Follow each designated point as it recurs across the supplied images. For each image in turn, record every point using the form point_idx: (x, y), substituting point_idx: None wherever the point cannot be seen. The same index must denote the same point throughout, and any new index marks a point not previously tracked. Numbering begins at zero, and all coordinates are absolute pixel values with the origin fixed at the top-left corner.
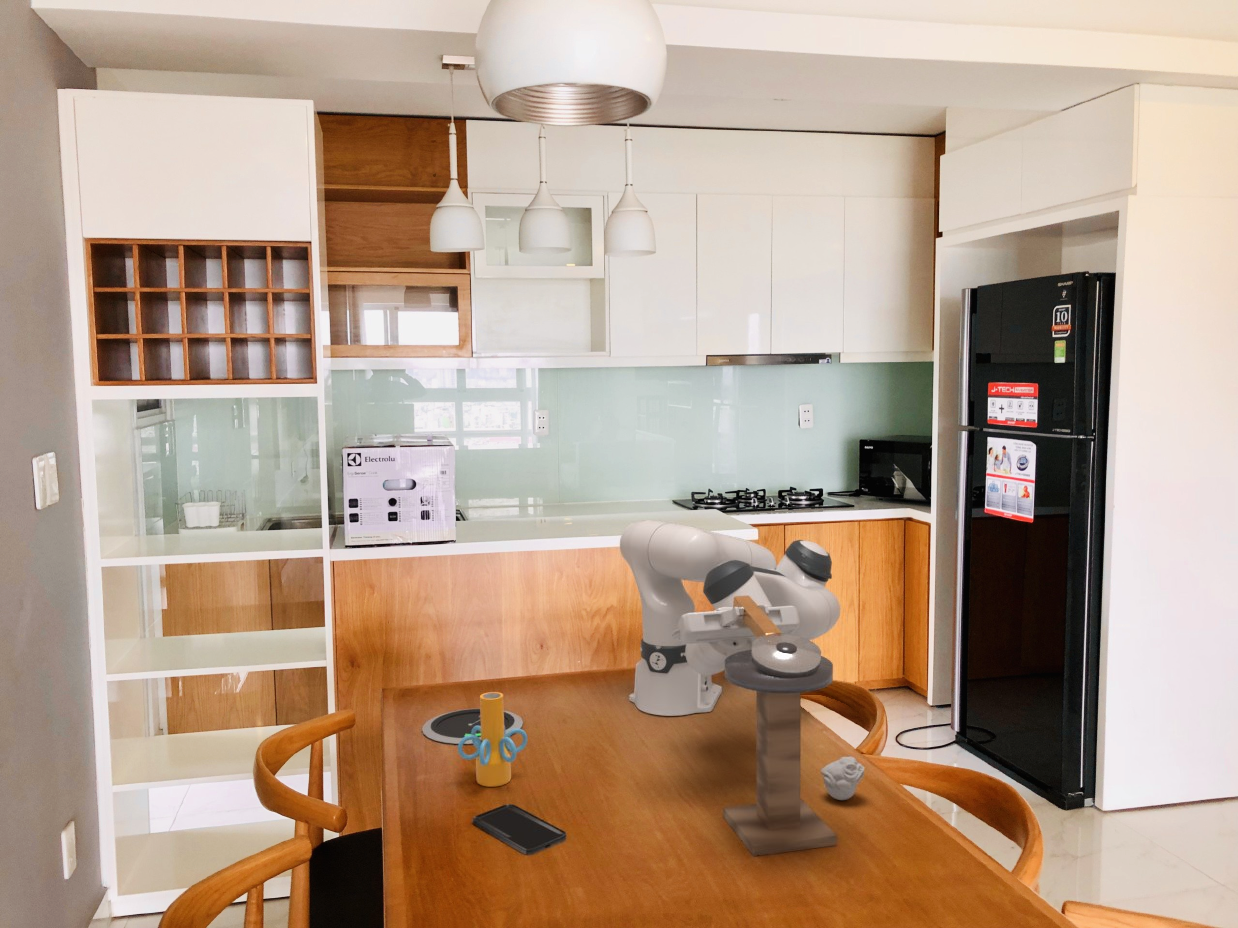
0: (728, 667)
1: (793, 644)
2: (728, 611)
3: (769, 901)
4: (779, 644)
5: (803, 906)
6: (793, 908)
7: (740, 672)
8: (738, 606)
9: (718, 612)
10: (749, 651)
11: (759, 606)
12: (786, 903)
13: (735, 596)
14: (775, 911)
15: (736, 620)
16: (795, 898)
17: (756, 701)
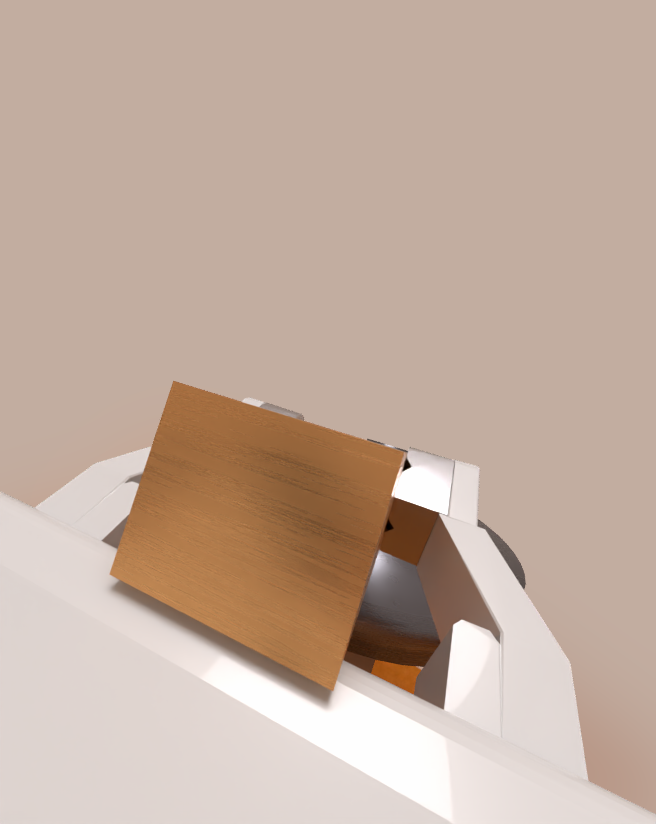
0: (517, 561)
1: (368, 439)
2: (501, 568)
3: (412, 693)
4: (400, 449)
5: (382, 662)
6: (394, 667)
7: (491, 533)
8: (392, 500)
9: (641, 810)
10: (385, 594)
11: (300, 417)
12: (396, 677)
13: (374, 446)
14: (414, 676)
15: (420, 577)
16: (381, 677)
17: (374, 660)
